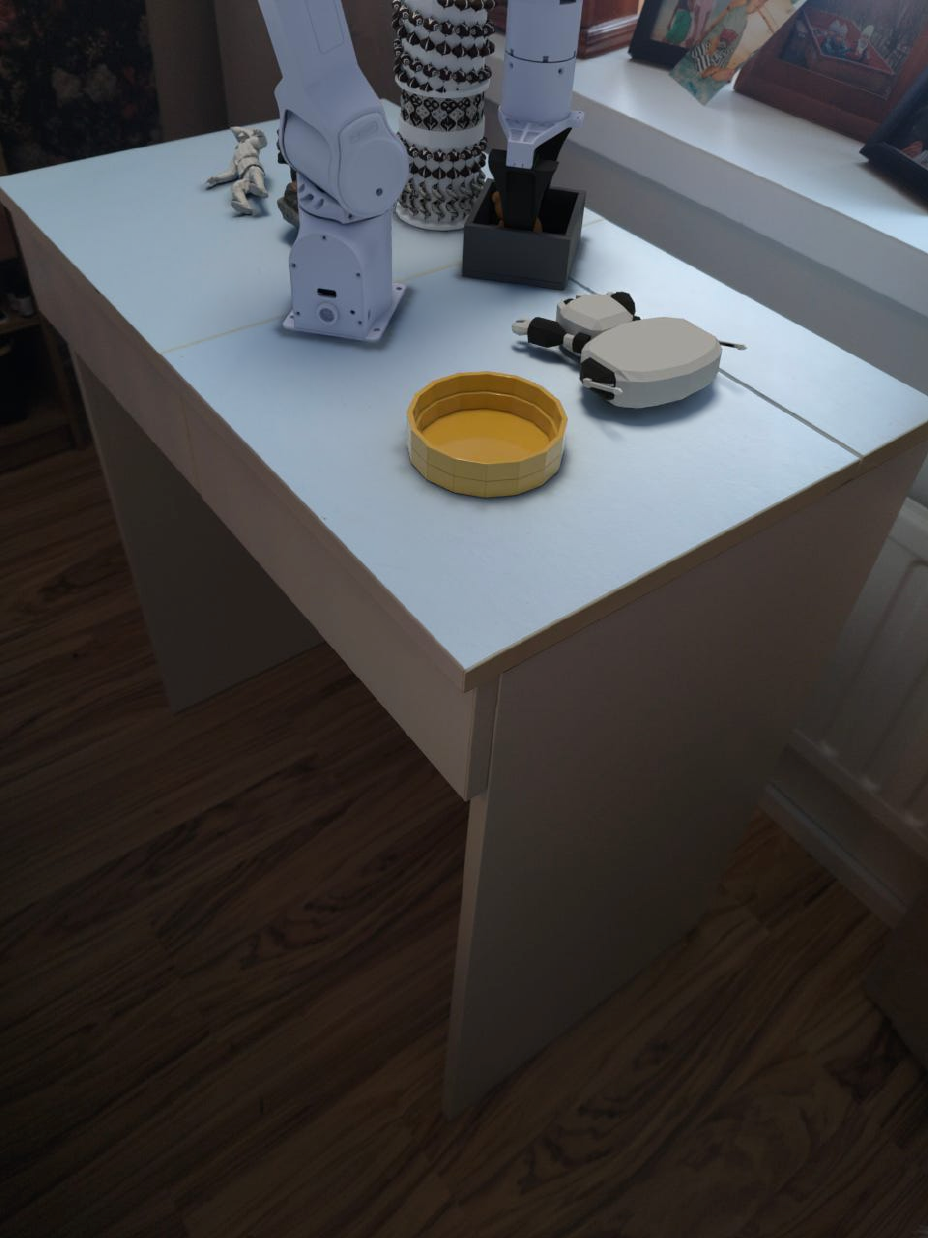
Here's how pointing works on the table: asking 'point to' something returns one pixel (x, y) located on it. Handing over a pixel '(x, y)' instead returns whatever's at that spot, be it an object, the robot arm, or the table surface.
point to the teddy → (499, 213)
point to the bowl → (486, 433)
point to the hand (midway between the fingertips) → (525, 219)
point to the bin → (524, 241)
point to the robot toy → (629, 349)
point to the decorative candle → (442, 106)
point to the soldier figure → (245, 168)
